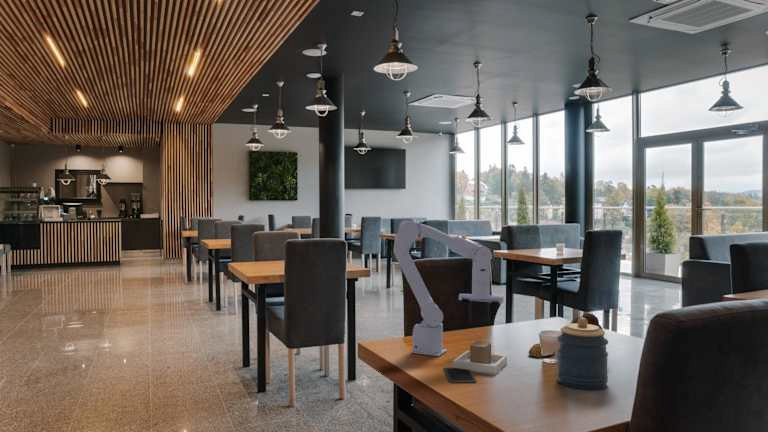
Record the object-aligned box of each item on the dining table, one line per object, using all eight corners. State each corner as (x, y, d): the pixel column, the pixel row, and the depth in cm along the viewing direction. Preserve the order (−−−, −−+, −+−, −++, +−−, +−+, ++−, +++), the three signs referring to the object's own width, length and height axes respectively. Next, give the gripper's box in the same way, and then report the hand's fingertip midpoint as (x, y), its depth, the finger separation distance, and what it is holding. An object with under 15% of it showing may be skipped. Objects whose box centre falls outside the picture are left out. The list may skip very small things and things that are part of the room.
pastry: (542, 360, 172) (542, 348, 172) (523, 356, 177) (523, 344, 177) (556, 354, 179) (556, 343, 179) (537, 351, 183) (537, 339, 183)
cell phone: (467, 369, 162) (468, 367, 162) (477, 384, 148) (477, 381, 148) (443, 369, 162) (443, 367, 162) (450, 384, 148) (450, 381, 148)
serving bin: (453, 368, 161) (453, 360, 161) (467, 358, 172) (467, 350, 172) (495, 375, 155) (495, 366, 155) (506, 364, 167) (506, 355, 167)
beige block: (470, 365, 163) (470, 345, 163) (476, 360, 168) (476, 341, 168) (484, 367, 160) (485, 347, 160) (491, 362, 166) (491, 342, 166)
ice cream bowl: (605, 358, 173) (605, 311, 173) (603, 368, 163) (603, 317, 163) (569, 354, 178) (570, 308, 177) (565, 363, 167) (565, 314, 167)
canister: (602, 394, 140) (603, 324, 140) (551, 385, 147) (551, 319, 147) (611, 380, 151) (612, 316, 151) (563, 373, 158) (564, 311, 158)
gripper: (455, 282, 180) (455, 323, 180) (499, 285, 173) (499, 328, 173) (462, 279, 186) (462, 319, 186) (505, 282, 180) (505, 324, 180)
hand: (480, 323), depth 180 cm, fingers open, 7 cm apart
